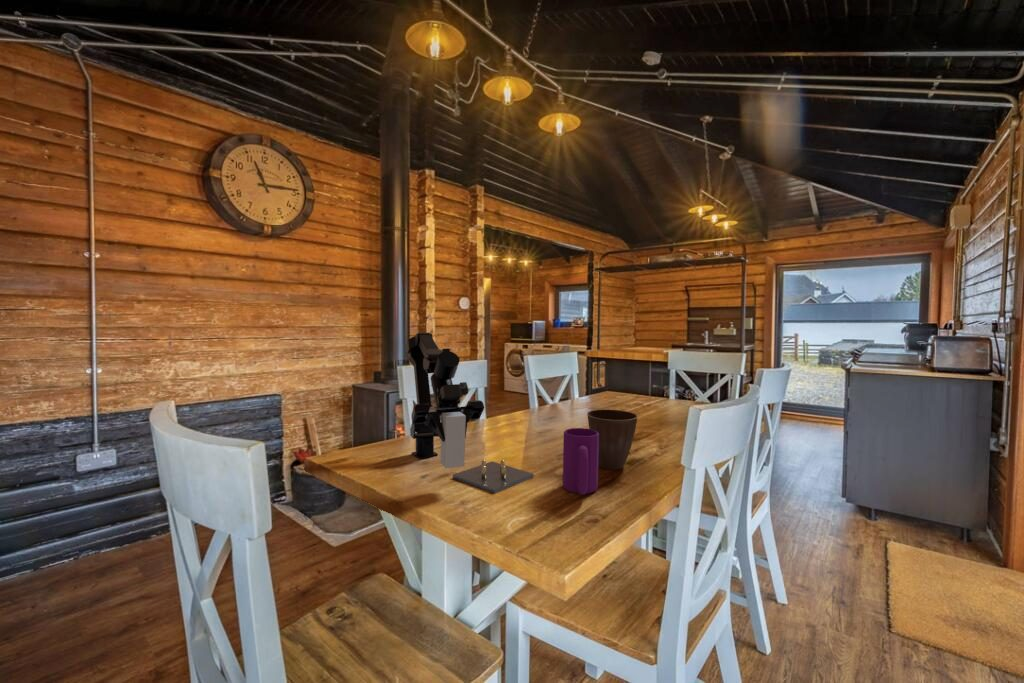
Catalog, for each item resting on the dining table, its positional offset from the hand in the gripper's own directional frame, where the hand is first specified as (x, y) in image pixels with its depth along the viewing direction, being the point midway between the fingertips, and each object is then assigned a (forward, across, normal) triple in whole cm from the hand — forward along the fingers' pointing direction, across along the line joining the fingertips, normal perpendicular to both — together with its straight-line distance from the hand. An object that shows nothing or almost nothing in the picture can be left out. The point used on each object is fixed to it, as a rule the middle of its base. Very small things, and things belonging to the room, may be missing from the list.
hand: (454, 439), depth 111 cm
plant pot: (+9, +50, +11) cm, 52 cm away
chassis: (+6, +13, +13) cm, 19 cm away
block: (+4, 0, +6) cm, 7 cm away
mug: (+19, +30, 0) cm, 35 cm away
